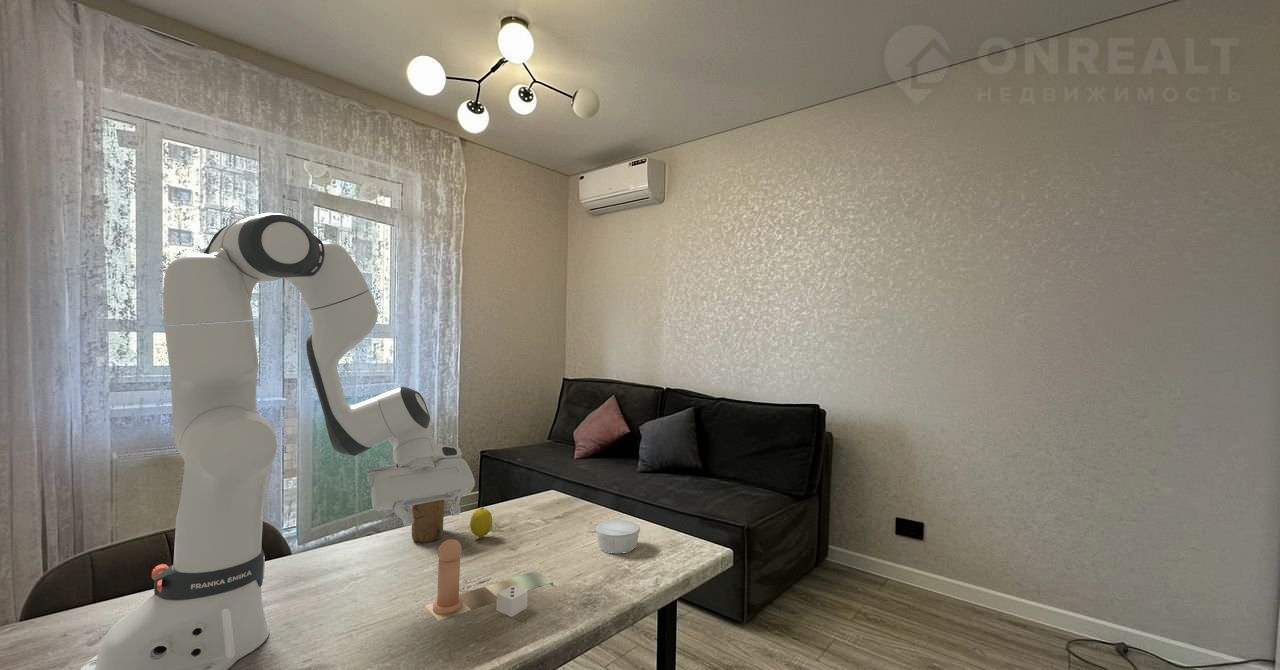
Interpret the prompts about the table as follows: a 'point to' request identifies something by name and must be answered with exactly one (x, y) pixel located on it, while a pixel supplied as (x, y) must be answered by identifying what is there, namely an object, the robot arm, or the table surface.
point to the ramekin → (617, 535)
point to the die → (512, 600)
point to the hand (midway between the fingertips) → (433, 519)
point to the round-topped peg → (448, 578)
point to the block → (428, 521)
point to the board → (494, 592)
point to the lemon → (481, 522)
